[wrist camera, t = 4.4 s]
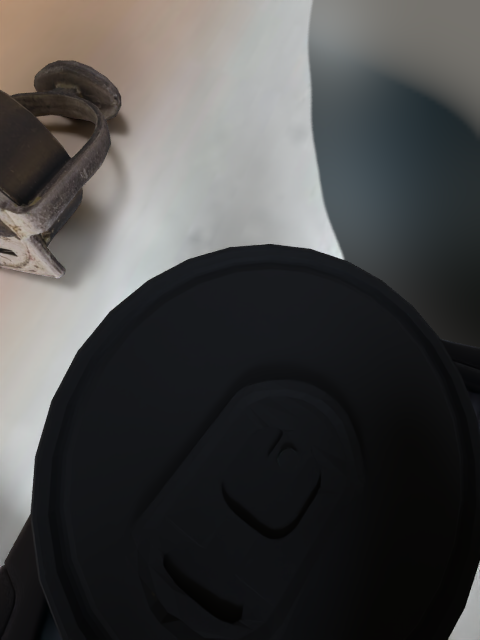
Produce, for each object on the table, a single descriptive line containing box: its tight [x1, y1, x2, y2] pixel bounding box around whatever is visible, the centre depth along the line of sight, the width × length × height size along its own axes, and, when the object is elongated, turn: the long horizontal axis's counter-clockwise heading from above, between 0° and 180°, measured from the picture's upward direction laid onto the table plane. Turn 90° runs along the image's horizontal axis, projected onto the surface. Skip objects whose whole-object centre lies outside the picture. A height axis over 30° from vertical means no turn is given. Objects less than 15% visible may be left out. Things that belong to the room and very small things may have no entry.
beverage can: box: [30, 244, 480, 640], centre depth 9 cm, size 7×7×12 cm
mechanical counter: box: [0, 61, 121, 278], centre depth 12 cm, size 7×13×10 cm
